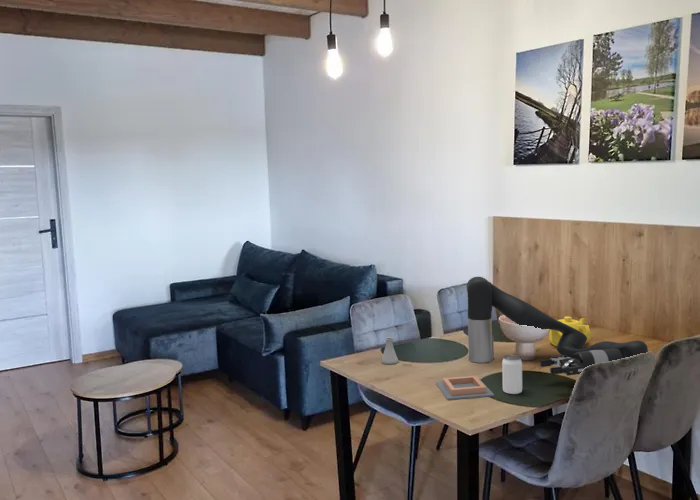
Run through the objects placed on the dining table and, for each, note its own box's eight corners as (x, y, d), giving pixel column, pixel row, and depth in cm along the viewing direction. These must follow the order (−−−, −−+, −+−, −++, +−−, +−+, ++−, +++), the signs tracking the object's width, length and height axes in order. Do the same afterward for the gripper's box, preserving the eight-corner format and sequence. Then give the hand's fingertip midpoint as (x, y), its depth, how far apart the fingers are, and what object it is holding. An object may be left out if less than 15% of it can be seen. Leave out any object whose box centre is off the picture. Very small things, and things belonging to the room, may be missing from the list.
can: (500, 388, 210) (499, 355, 209) (518, 387, 211) (517, 353, 209) (506, 395, 204) (505, 360, 202) (525, 393, 204) (524, 359, 203)
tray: (479, 380, 219) (479, 373, 219) (494, 396, 203) (493, 388, 203) (436, 383, 218) (435, 376, 217) (447, 400, 202) (447, 392, 202)
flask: (397, 365, 241) (396, 340, 240) (379, 364, 242) (378, 340, 241) (399, 359, 248) (399, 335, 247) (382, 359, 250) (381, 335, 248)
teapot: (592, 350, 248) (592, 321, 246) (550, 350, 251) (550, 321, 249) (584, 339, 264) (584, 312, 263) (544, 339, 267) (544, 312, 266)
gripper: (601, 378, 201) (554, 384, 200) (582, 366, 215) (538, 371, 214) (600, 357, 200) (553, 362, 199) (581, 345, 214) (536, 351, 213)
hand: (545, 367), depth 207 cm, fingers open, 8 cm apart
